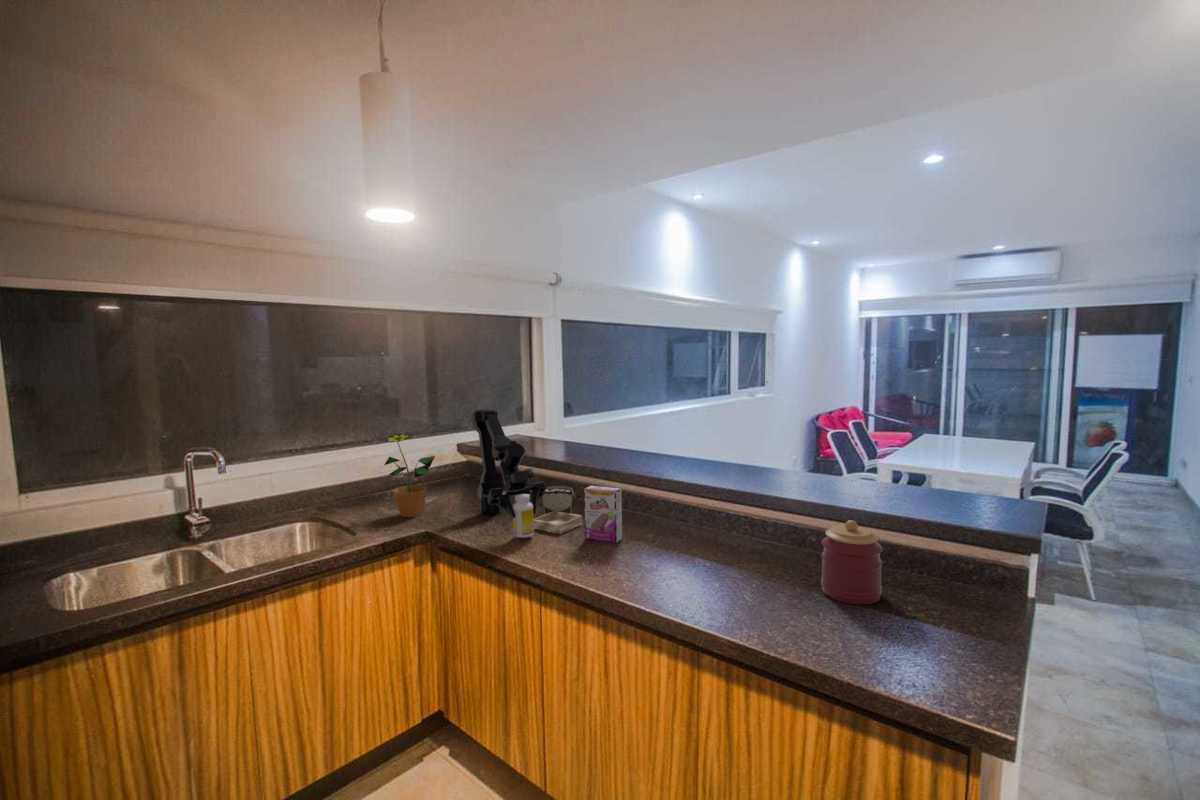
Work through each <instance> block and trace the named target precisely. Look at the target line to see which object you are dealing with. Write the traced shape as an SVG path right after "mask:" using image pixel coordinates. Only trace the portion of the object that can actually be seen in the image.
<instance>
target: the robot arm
mask: <svg viewBox="0 0 1200 800" xmlns="http://www.w3.org/2000/svg"><path fill="white" fill-rule="evenodd" d="M470 421H471V423H472V426H473V429H474V430H475V431H476V433H478V437H479V439H478V440H479V446H480V453H481V454H480V455H481V461H482V462H481V463H482V469H483V471H482V475H481V476H480V479H479V482H480V483H479V485H478V489H477V491H476V493H477V497H478V498H479V499H480V504H481V506H480V507H481V512H480V513H479V515H480V516H498V514H500V513H502V512H503V510H504V511H505V512H507V514H508V515H509V516H511V518H512V519H513V518H515V514H514V511H513V508H512V506H513V505H512V503H511V500H510V498H511V497H515V495H518V494H529V495H530V499H529V502H531V503H532V504H533V515H534V516H535V515H536V512H537V511H536V510H537V508H536V507H537V500H538V498H542V496H543V495H544V492H545V490H546V488H548V487H547V485H546V483H545V482H544V481H538V482H533V483H532V484H531V486H530V487H527V485H528V483H527V482H529V481H530V480H532V479H533V478H534V472H533V469H532V468H531V467H530V468H526V469H525V470H521V471H520V469H519V466H520V465H521V462H522V460H523V459H524V455H525V454H526V453H525V452H526V450H525V447H524V446H522V445H521V444H519V443H517V441H516V440H512V439H511V438H509V437H507V436H506V434H505V432H504V429H503V427H502V425H501V422H500V419H499V417H498V412H497V410H494V409H490V408H489V409H488V408H487V409H486V408H485V409H474V410H473V412H471V413H470ZM496 461H500V463H499V471H500V472H499V471H498V470H497V468H496V467H497V466H496ZM505 488H506V490H505ZM478 498H477V499H478Z"/></svg>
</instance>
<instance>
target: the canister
mask: <svg viewBox="0 0 1200 800" xmlns="http://www.w3.org/2000/svg"><path fill="white" fill-rule="evenodd" d="M824 533H825V535H826V537H824V538H823V539H822V540H821V545H822V546H823V552H822V553H821V558H822V559H821V560H822V561H821V579H820V582H821V583H820V586H821V588H822V589H821V590H822V592H823V594H825V595H826V596H827V597H829V598H831V599H833V600H835V601H838V602H842V603H845V604H851V605H864V606H865V605H871V604H874V603H877V602H879V601H880V600H881V596H882V593H883V592H882V591H883V590H882V589H883V587H882V566H883V562H882V559H881V555H880V554H881V553H882V552H883V547H882V545H881V544H880V543H879V542H878V541H879V539H880V538H879V536H878V535H877V534H875V533H874V532H872V530H870V529H869V528H866V527H863V526H859V525H858V523H857V522H856V521H855V520H852V519H849V520H847V521H846V522H845V524H837V525H833V526H832V527H831V528H828V529H827V530H825V532H824Z"/></svg>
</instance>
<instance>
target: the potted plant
mask: <svg viewBox="0 0 1200 800" xmlns="http://www.w3.org/2000/svg"><path fill="white" fill-rule="evenodd" d="M409 436H410V435H409V434H407V433H406V434H405V433H399V434H394V435H389V436H388V437H387V438H386V439H385V442H390V443H397V445H398V447H399V448H398V449H399V451H400V453H401V456H402V458H403V459H402V460H403V461H404V465H405V466H402V467H401V466H399V465H398V464H397V463H396V462H400V461H401V460H400V459H397V458H395V457H391V456H389V457H388V458H387V460H386V461H385V463H384V466H386V465H390V464H392V463H393V464H395V466H396V467H397V469H395V470H393V471H392V472H390V473H389V474H388V476H395V477H396V475H398V474H400V473H402V472H403V471H405V470H406V472H407V477H408V485H404V486H398V487H395V488H394V489H392V491H391V492H392V494H393V497H394V500H395V503H396V505H397V508H398V511H399V514H400V517H402V518H403V517H409V519H410V517H412V518H417V516H418V517H420V516H422V514H423V510H424V504H425V500H426V495H427V490H428V486H427V485H424V484H423V485H422V484H411V476H412V474H414V478H415V479H416V478H419V477H422V476H424V475H428V474H429V473H430V472H429V468H431V467H432V466H431V465H432V464H433V461H434V460H435V457H436V456H435V455H431V456H427V457H421V458H419V459H418V460H417V463H416V465H415V466H414V469H413V470H412V472H411V473H410V471H409V467H408V464H407V461H406V459H405V456H404V454H403V452H402V449H401V446H400V443H399V442H400V441H405V440H407V439H408V437H409ZM418 463H421V464H423V465H422V466H419V467H417V466H418ZM419 515H420V516H419Z"/></svg>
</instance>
